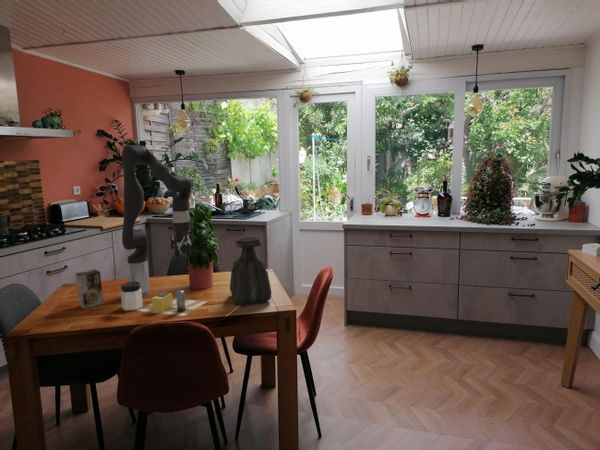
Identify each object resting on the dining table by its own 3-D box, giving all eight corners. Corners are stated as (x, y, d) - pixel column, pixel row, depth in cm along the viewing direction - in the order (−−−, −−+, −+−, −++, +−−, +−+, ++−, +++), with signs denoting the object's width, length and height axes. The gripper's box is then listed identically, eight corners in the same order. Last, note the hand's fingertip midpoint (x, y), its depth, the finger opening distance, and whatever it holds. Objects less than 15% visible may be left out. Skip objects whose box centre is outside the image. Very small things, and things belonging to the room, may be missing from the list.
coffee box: (98, 300, 211) (95, 268, 208) (103, 303, 206) (100, 271, 203) (79, 305, 204) (75, 272, 202) (83, 308, 200) (80, 275, 197)
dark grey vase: (265, 293, 216) (263, 234, 211) (272, 303, 200) (270, 240, 196) (229, 297, 211) (226, 237, 206) (234, 308, 195) (231, 243, 190)
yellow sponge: (152, 310, 192) (151, 296, 191) (163, 304, 199) (162, 291, 198) (162, 311, 190) (161, 297, 189) (172, 305, 198) (171, 292, 196)
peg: (175, 311, 190) (174, 292, 188) (180, 308, 193) (179, 289, 192) (182, 312, 189) (181, 292, 187) (187, 309, 192) (185, 290, 191)
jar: (120, 313, 193) (118, 287, 191) (123, 307, 200) (121, 282, 198) (141, 311, 194) (139, 285, 193) (144, 305, 202) (142, 280, 200)
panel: (136, 312, 193) (136, 310, 192) (162, 299, 210) (162, 297, 210) (184, 318, 185) (184, 315, 184) (207, 303, 202) (207, 301, 202)
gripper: (178, 223, 185) (180, 260, 188) (197, 218, 198) (199, 252, 201) (164, 222, 187) (166, 258, 190) (183, 217, 201) (185, 251, 203)
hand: (183, 255), depth 195 cm, fingers open, 8 cm apart
